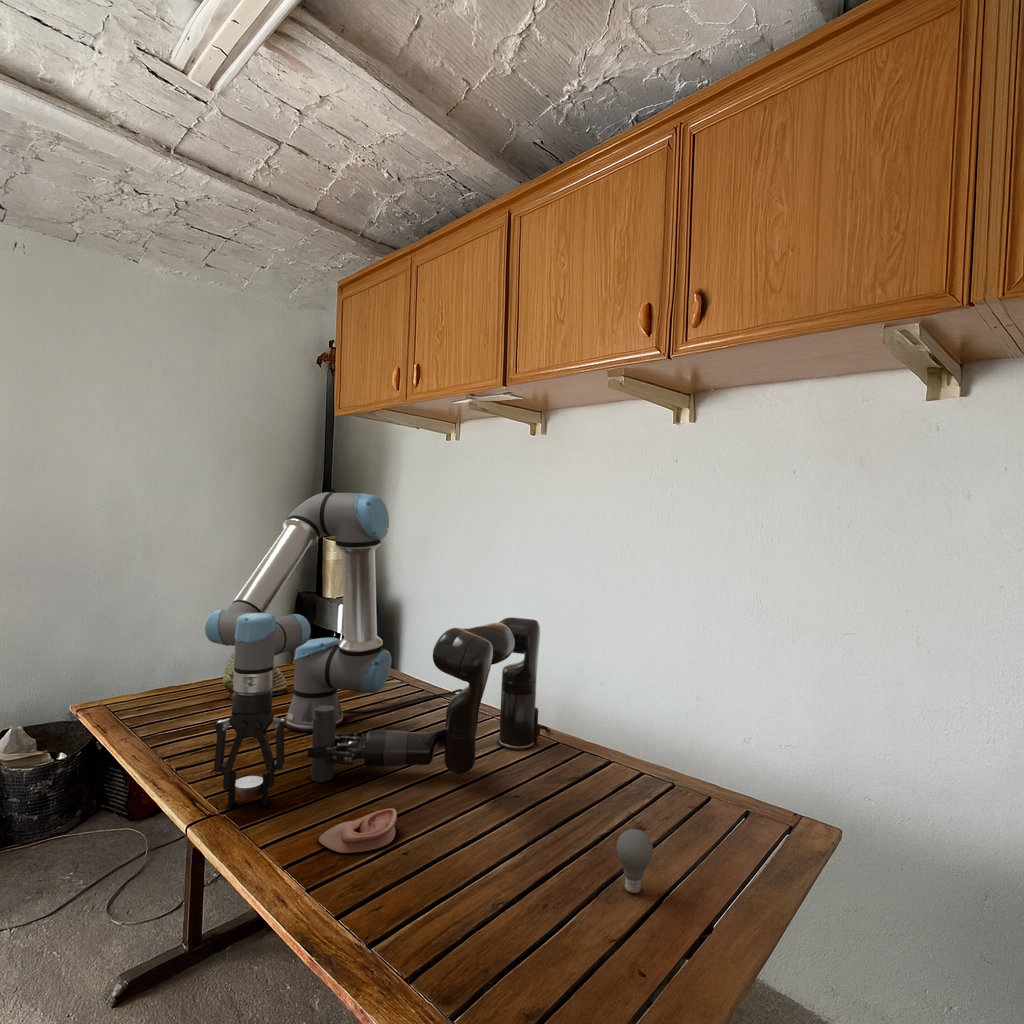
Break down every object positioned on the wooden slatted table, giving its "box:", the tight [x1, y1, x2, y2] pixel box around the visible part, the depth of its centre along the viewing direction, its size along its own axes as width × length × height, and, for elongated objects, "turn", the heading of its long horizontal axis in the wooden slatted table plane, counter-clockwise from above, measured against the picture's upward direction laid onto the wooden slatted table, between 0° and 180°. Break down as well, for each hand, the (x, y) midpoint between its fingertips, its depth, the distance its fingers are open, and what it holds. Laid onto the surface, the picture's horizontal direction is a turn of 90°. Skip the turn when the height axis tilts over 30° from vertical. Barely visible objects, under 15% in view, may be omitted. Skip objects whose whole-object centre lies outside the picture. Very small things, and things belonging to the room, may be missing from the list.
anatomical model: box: [318, 807, 398, 854], centre depth 118 cm, size 13×4×12 cm
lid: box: [233, 775, 263, 800], centre depth 129 cm, size 6×6×2 cm
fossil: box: [222, 650, 288, 699], centre depth 198 cm, size 9×18×15 cm, turn 132°
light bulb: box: [615, 828, 654, 894], centre depth 106 cm, size 6×6×10 cm
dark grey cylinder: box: [310, 705, 337, 783], centre depth 143 cm, size 5×5×16 cm
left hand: (248, 803), depth 129 cm, fingers closed on lid, 6 cm apart
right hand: (311, 747), depth 143 cm, fingers closed on dark grey cylinder, 5 cm apart
